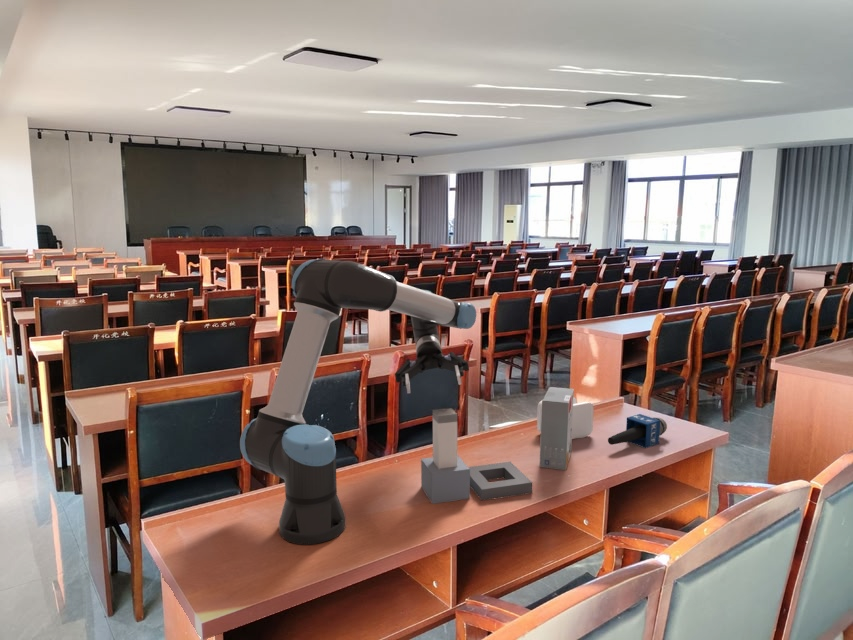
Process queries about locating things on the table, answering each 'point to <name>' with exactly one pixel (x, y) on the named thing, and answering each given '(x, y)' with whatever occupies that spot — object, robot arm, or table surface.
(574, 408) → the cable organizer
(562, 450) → the hard drive box
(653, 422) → the microphone
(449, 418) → the plug
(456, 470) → the stand
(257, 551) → the table surface
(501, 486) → the socket block
